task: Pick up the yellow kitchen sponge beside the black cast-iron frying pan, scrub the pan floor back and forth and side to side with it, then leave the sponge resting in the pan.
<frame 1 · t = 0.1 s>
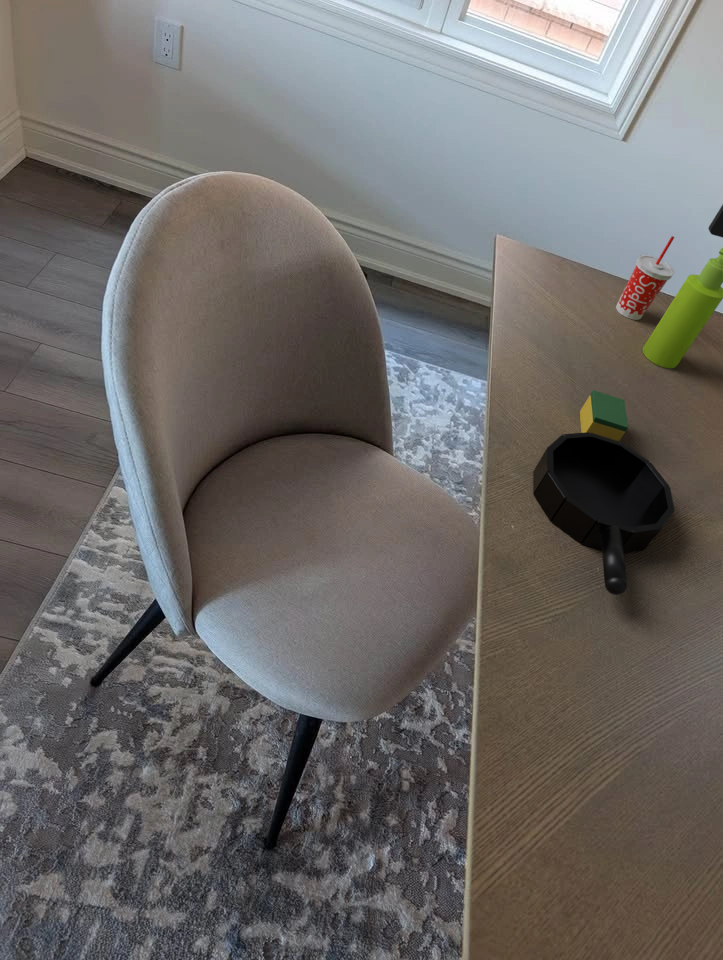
soap dispenser: (658, 358, 119), on the table
sponge: (596, 430, 101), on the table
beverage cup: (628, 312, 127), on the table
pan: (594, 501, 90), on the table
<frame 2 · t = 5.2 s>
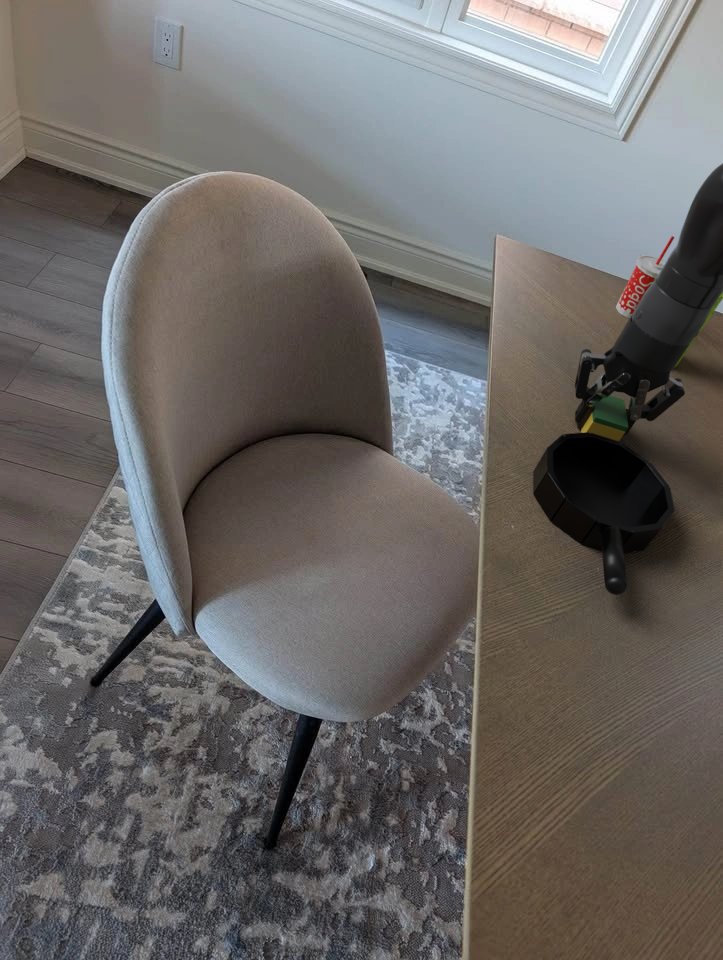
hand: (597, 428, 101), 0 cm above the table, tool pointing down, fingers closed on sponge, 4 cm apart
sponge: (596, 430, 101), on the table, touching gripper
everything else where it was.
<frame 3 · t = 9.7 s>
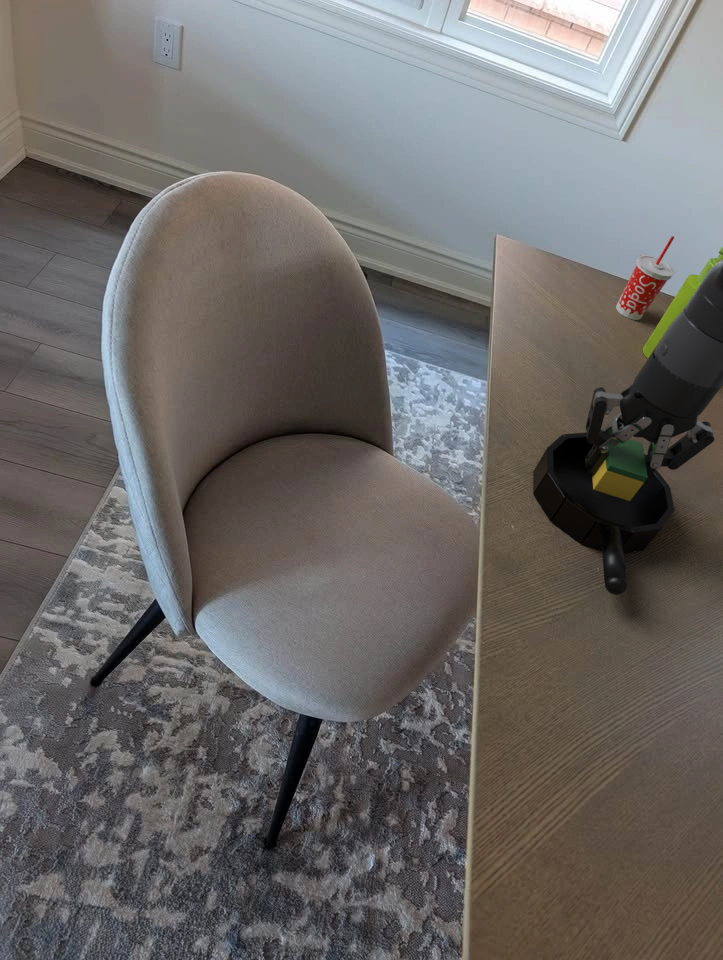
hand: (610, 476, 87), 4 cm above the table, tool pointing down, fingers closed on sponge, 4 cm apart
sponge: (609, 478, 88), point 4 cm above the table, touching gripper
everything else where it was.
when the fingers open (1 cm above the table, at t = 14.1 s): sponge stays where it is, resting on pan.
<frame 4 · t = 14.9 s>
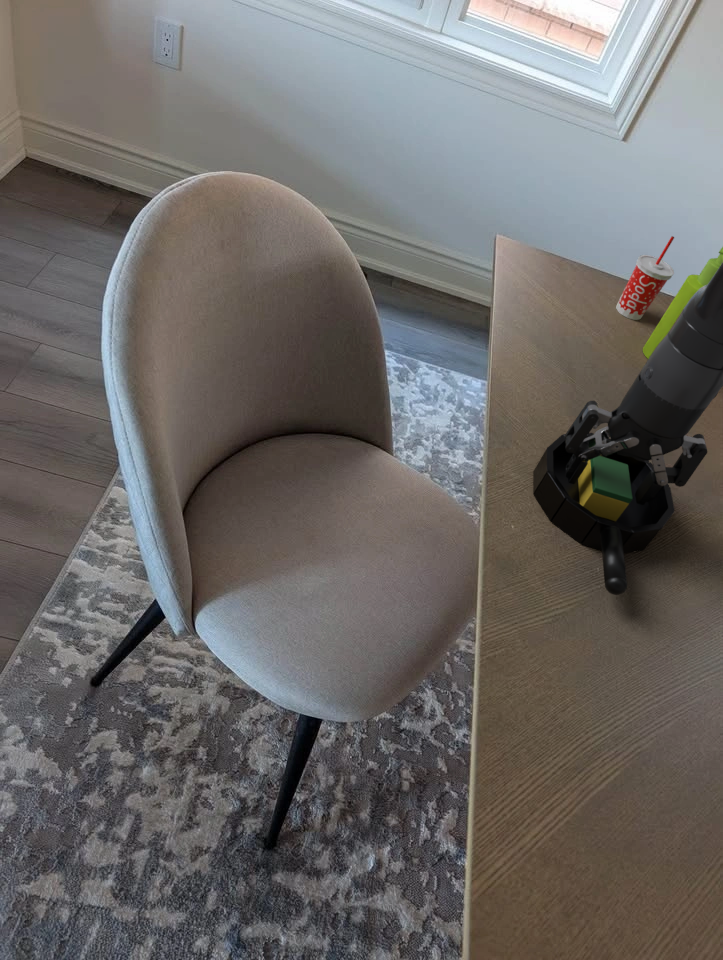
hand: (604, 489, 89), 2 cm above the table, tool pointing down, fingers open, 8 cm apart
sponge: (596, 498, 90), point 1 cm above the table, touching pan
everything else where it was.
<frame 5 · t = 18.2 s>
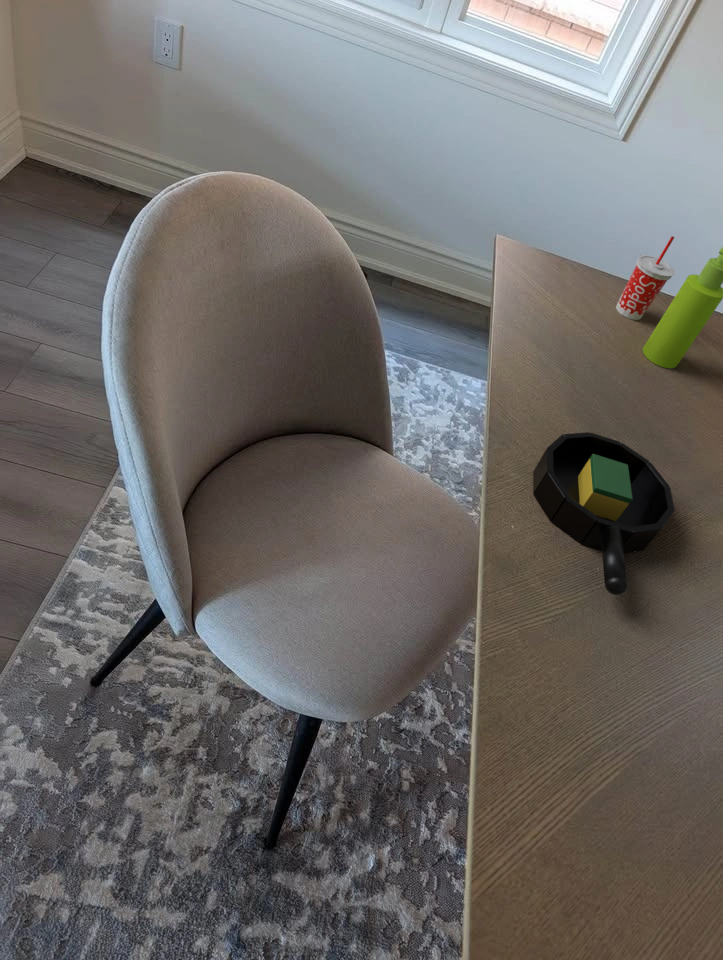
nothing on the table moved.
at the end: sponge inside the target area on the pan (0.1 cm from its centre), point 0.6 cm above the pan's base; the gripper is holding nothing; sponge moved 14.4 cm from its start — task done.
